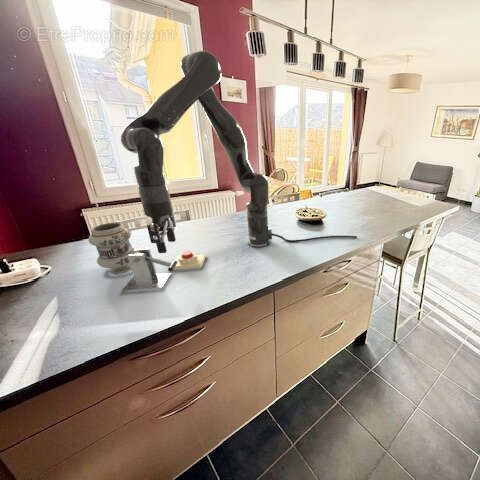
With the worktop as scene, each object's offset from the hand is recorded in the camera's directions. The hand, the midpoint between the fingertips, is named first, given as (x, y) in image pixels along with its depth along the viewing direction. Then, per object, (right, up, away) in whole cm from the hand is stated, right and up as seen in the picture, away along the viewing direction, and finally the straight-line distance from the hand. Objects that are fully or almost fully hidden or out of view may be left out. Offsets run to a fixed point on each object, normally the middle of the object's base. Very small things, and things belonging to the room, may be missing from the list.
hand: (167, 246), depth 81 cm
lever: (-5, -6, +2) cm, 8 cm away
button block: (-2, -8, +17) cm, 19 cm away
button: (-2, -4, +15) cm, 16 cm away
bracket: (-9, -13, +4) cm, 17 cm away
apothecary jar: (-24, -9, +12) cm, 28 cm away
